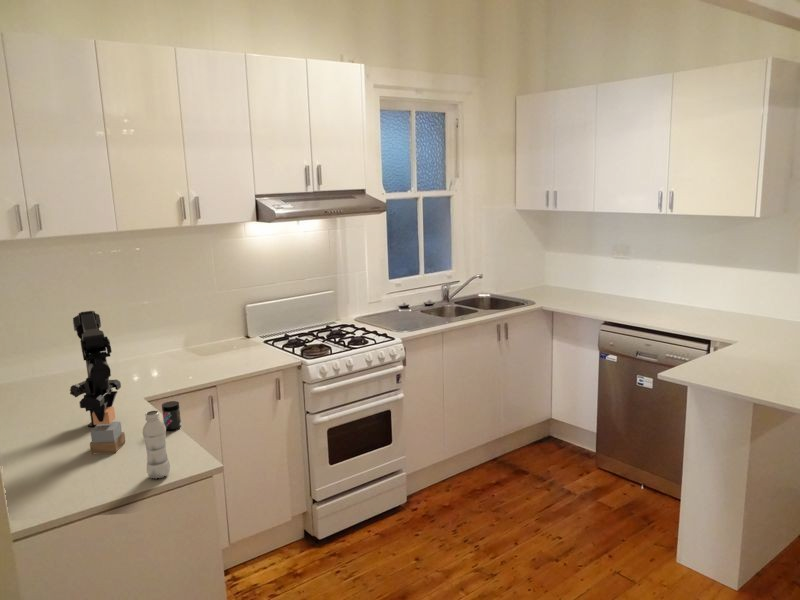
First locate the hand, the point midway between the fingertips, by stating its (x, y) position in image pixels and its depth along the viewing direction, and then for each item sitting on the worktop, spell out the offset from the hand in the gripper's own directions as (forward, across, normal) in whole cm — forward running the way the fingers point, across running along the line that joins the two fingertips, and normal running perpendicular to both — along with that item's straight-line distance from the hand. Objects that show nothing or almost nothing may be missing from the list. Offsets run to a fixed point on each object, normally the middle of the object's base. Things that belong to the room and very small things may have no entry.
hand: (104, 418), depth 206 cm
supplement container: (+11, -14, +17) cm, 24 cm away
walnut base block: (+11, 0, 0) cm, 11 cm away
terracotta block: (+1, 0, 0) cm, 1 cm away
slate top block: (+7, 0, 0) cm, 7 cm away
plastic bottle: (+11, +22, +23) cm, 34 cm away
